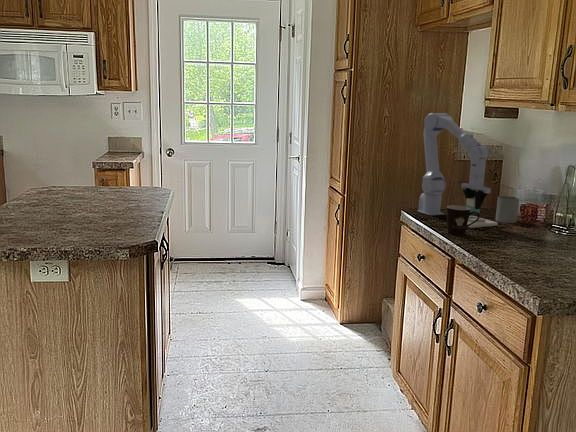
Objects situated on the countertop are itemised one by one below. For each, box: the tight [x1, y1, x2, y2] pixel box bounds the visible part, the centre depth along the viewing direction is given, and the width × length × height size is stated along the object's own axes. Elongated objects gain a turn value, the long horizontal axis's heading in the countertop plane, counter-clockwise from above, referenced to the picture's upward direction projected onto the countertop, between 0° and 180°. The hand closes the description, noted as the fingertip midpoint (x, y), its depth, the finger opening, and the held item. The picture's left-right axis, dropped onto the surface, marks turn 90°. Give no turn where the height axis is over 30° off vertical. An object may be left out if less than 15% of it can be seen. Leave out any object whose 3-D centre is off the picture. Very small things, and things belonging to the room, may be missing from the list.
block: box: [465, 197, 481, 214], centre depth 232 cm, size 4×4×6 cm
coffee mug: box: [446, 205, 480, 237], centre depth 213 cm, size 12×9×10 cm
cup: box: [495, 195, 520, 224], centre depth 240 cm, size 8×8×10 cm
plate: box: [467, 215, 498, 229], centre depth 234 cm, size 14×14×2 cm
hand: (473, 207), depth 233 cm, fingers closed on block, 4 cm apart
